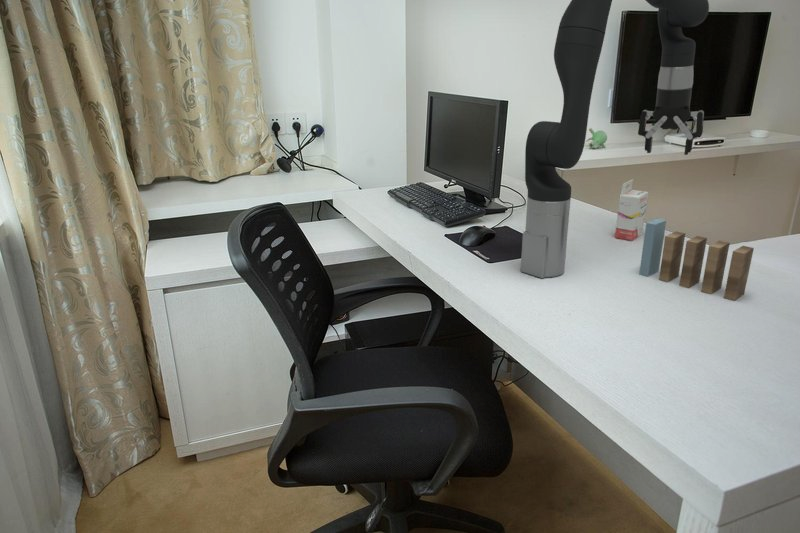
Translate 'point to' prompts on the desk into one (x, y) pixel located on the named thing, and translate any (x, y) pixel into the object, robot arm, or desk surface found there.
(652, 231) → the end tile
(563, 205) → the robot arm
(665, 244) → the tile
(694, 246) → the tile
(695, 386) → the desk surface
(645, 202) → the ink cartridge box
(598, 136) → the frog
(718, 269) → the tile
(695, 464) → the desk surface
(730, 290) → the tile
